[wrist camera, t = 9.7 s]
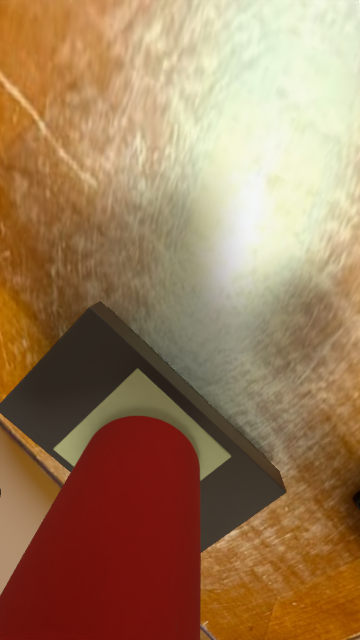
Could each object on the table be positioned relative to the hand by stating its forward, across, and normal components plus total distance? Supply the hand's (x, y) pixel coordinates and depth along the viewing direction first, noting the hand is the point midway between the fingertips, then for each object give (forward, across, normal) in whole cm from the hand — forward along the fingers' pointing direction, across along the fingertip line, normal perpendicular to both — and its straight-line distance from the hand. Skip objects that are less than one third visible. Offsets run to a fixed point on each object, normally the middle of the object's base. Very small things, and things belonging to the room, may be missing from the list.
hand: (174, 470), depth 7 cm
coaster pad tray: (+12, +4, +7) cm, 15 cm away
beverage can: (+10, +3, +7) cm, 12 cm away
